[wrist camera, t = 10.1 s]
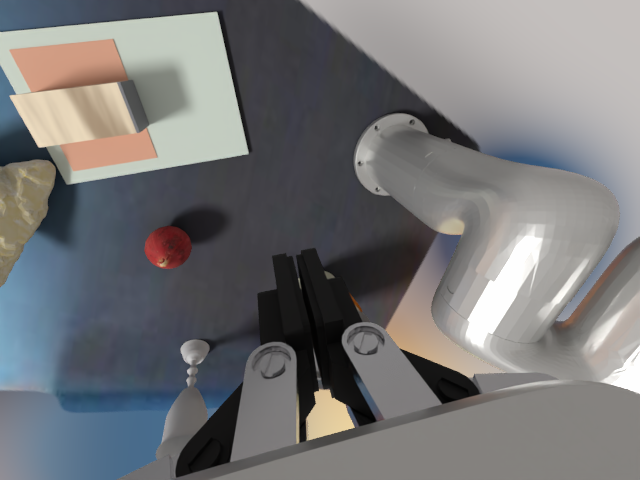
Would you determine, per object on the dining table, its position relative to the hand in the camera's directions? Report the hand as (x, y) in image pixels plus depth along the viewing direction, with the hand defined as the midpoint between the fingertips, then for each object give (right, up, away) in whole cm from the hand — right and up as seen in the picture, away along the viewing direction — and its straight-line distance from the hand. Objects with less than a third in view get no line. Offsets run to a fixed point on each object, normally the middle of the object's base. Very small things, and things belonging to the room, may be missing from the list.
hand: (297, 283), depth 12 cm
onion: (-21, +3, +34) cm, 41 cm away
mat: (-21, +18, +25) cm, 38 cm away
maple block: (-20, +17, +23) cm, 35 cm away
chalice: (-23, -19, +46) cm, 55 cm away
